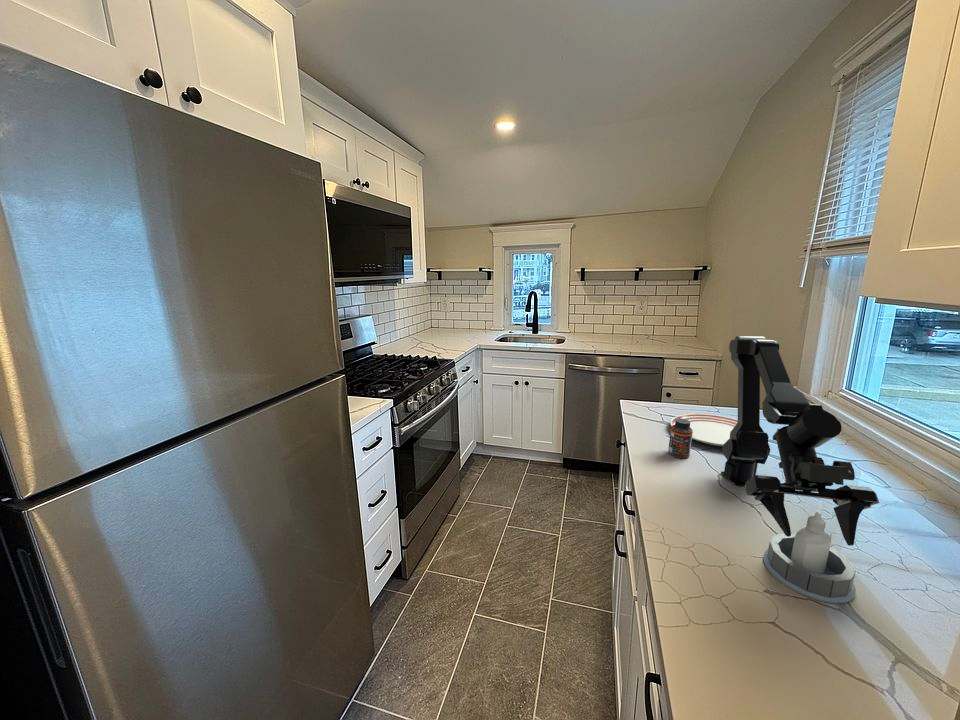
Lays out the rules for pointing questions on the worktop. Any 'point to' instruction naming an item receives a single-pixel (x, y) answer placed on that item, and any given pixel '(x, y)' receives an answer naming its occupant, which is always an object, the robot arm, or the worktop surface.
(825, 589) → the grey segmented round bowl
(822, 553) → the eye dropper bottle
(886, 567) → the worktop surface
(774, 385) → the robot arm
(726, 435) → the dinner plate
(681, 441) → the supplement bottle
